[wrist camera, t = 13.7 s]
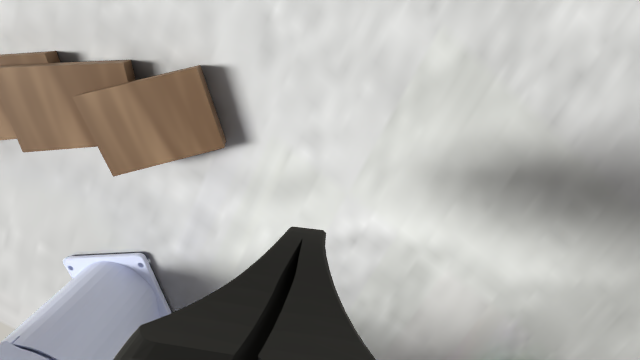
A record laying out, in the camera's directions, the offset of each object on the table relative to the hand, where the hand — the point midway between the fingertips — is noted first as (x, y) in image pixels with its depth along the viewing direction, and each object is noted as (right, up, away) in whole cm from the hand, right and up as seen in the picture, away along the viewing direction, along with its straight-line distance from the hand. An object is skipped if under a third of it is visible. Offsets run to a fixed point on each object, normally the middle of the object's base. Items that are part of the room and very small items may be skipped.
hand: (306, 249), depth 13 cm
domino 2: (-11, +8, +9) cm, 16 cm away
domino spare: (-6, +7, +8) cm, 13 cm away
